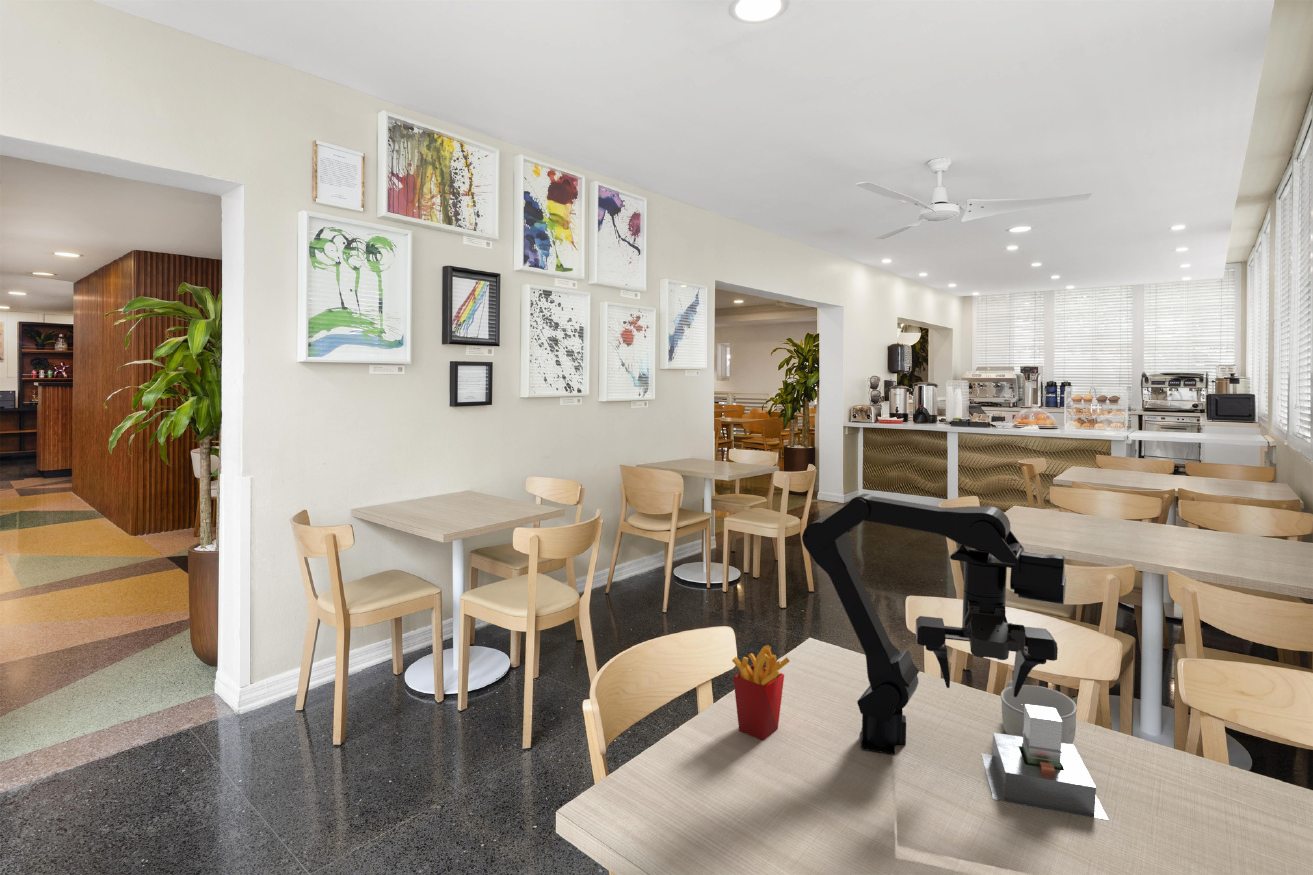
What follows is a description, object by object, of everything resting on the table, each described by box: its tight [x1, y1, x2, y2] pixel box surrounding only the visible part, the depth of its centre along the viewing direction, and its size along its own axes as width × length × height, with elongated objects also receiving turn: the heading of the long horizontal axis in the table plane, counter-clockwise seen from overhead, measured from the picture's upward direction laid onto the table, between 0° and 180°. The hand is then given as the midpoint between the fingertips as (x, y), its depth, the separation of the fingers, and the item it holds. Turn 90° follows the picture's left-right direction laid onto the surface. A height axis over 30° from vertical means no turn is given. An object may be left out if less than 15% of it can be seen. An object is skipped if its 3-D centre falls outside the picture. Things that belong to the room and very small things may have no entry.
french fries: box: [731, 644, 790, 741], centre depth 112 cm, size 9×8×15 cm
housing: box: [980, 732, 1109, 821], centre depth 96 cm, size 14×12×6 cm
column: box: [1022, 704, 1062, 769], centre depth 95 cm, size 4×4×7 cm
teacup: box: [1000, 680, 1078, 745], centre depth 109 cm, size 14×11×8 cm
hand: (980, 691), depth 99 cm, fingers open, 9 cm apart
